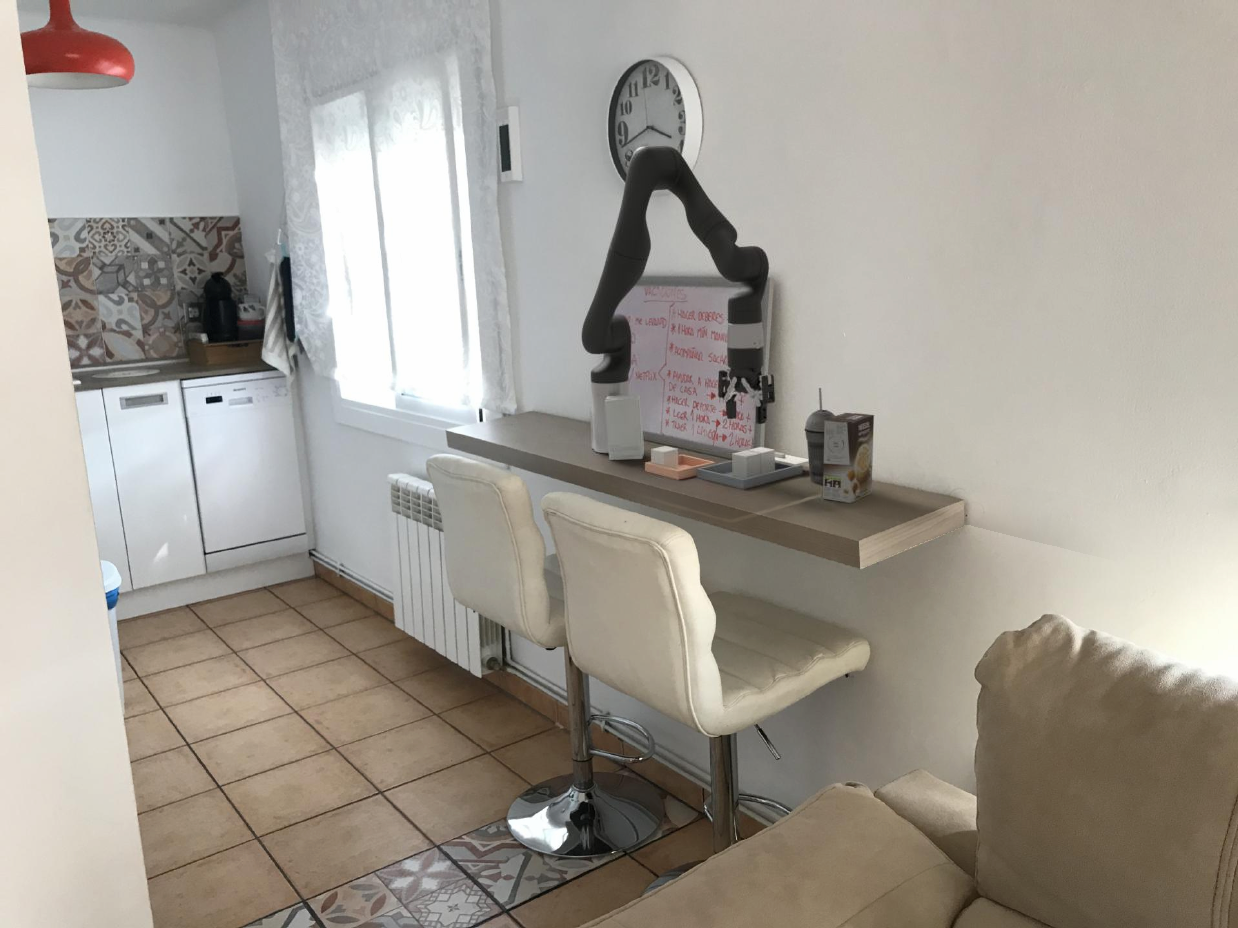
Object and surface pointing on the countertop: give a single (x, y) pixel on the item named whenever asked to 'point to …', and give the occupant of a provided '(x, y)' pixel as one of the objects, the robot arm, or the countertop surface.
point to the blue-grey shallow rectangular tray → (723, 475)
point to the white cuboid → (745, 464)
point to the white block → (665, 457)
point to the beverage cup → (816, 441)
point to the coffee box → (848, 457)
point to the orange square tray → (679, 467)
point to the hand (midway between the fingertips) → (746, 421)
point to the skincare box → (624, 427)
